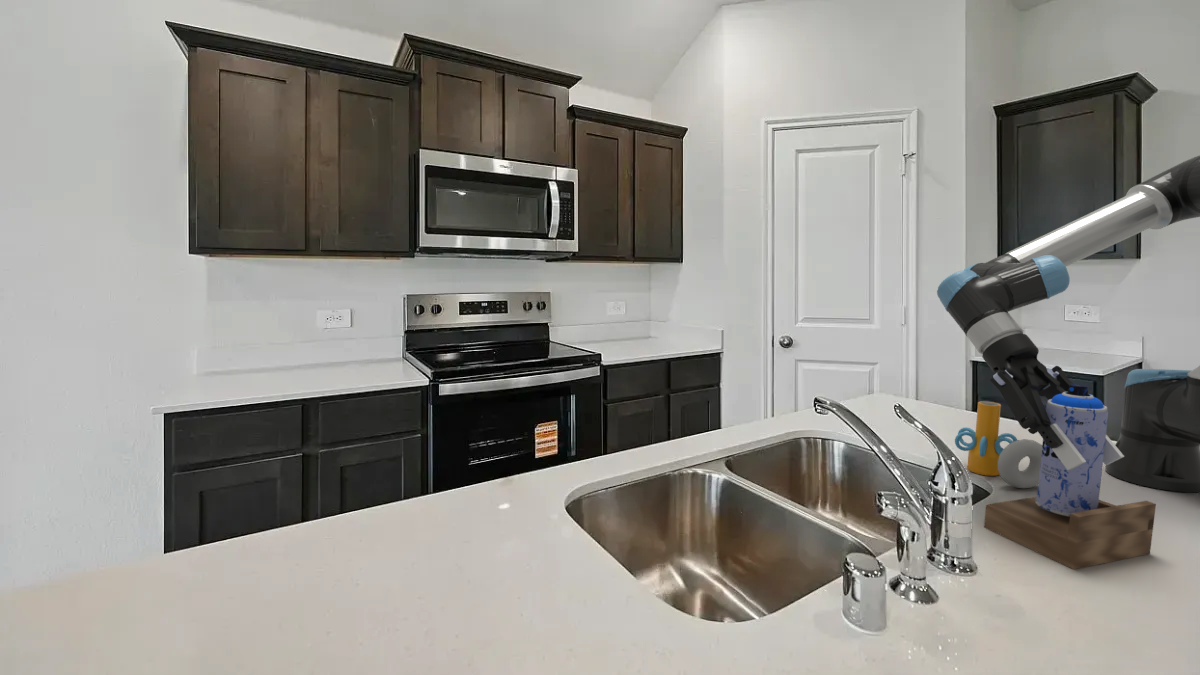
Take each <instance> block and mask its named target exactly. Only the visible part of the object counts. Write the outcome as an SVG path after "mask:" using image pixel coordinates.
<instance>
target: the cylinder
mask: <svg viewBox="0 0 1200 675" xmlns="http://www.w3.org/2000/svg"><path fill="white" fill-rule="evenodd" d="M1001 408H1002V405H1001V403H999V402H994V401H987V400H986V401H985V400H983V401H982V400H981V401H978V402H977V409H976V410H977V411H976V423H975V430H974V429H972V428H971V427H968V426H967V427H962V428H960V429H959V430H958V431H957V435H956V436H955V439H954V444H955V445H954V446H956V448H957V449H959V450H961V451H963V452H967V453H968V454H967V455H968V456H967V465H966V468H967V470H969V471H970V473H971V472H972V473H974V474H978V475H981V476H986V477H996V476H1001V475H1000V473H999V470H998V460H999V456H1000V454H1001V452H1002V451H1003V449H1004V448H1003V447H1002V446H1001V443H1002V442H1007V443H1008V444H1010V443H1012V442H1014V441H1017V440H1018V437H1016V435H1014V434H1012V433H1007V432H1005V433H1002V434H1000V435H999V431H1000V421H1001V419H1000V418H1001ZM964 436H968V437H970V438H971V440H972V441H971V442H968V443H967V442H966V441H965V440H964V439H963V437H964ZM962 445H963V446H962Z"/></svg>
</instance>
